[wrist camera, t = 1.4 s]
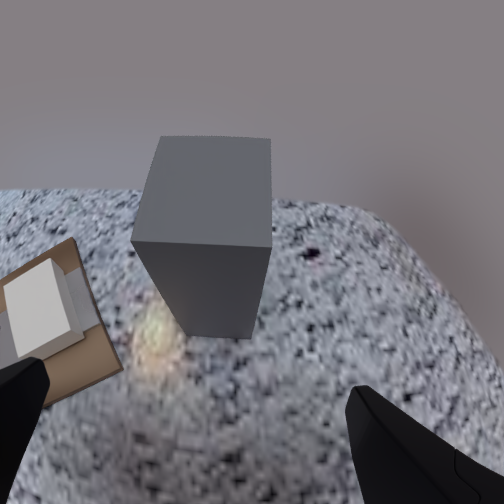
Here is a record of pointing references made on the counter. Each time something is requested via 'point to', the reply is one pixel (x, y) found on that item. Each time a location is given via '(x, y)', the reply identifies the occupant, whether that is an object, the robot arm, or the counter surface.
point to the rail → (3, 347)
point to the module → (208, 230)
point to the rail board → (82, 352)
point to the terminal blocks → (41, 312)
